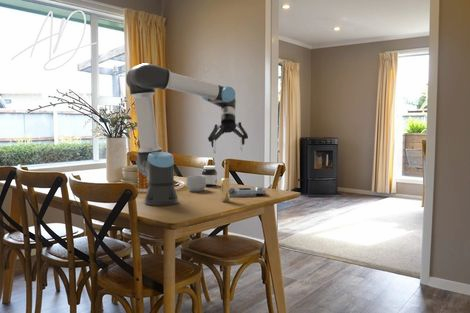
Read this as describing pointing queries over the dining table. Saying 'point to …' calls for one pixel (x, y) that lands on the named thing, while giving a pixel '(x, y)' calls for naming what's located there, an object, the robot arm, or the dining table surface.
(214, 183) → the spread jar
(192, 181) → the teacup
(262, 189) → the link
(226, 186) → the pin
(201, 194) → the dining table surface
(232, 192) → the link
